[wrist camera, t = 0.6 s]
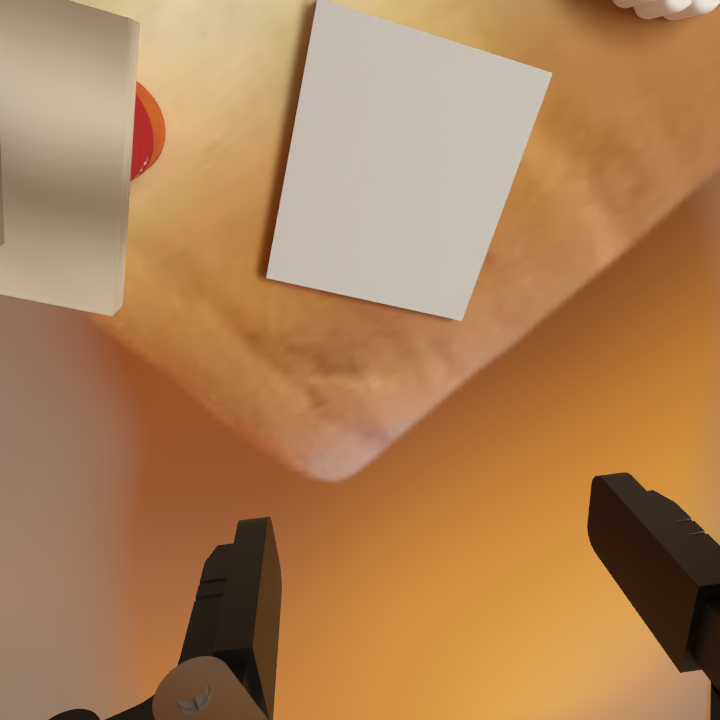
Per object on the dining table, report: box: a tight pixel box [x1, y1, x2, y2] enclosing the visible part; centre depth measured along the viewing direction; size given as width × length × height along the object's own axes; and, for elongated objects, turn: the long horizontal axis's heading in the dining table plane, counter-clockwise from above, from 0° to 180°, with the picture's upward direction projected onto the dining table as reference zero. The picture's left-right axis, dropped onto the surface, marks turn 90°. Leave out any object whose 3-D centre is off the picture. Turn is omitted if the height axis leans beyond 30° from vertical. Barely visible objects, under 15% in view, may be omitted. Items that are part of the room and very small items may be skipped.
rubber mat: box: [266, 0, 553, 321], centre depth 33 cm, size 16×14×1 cm
